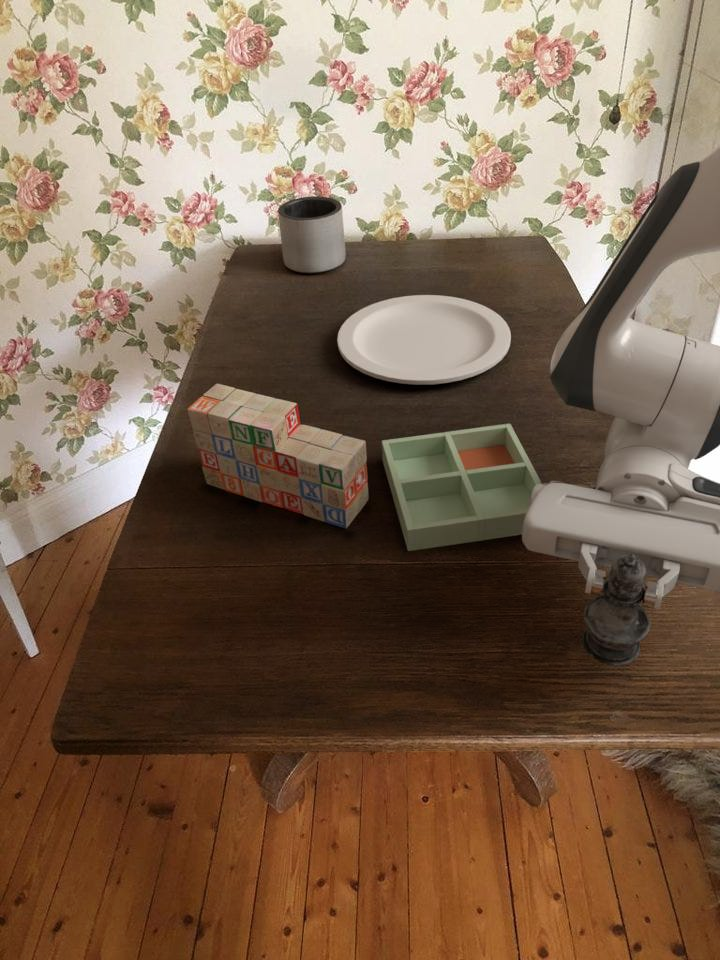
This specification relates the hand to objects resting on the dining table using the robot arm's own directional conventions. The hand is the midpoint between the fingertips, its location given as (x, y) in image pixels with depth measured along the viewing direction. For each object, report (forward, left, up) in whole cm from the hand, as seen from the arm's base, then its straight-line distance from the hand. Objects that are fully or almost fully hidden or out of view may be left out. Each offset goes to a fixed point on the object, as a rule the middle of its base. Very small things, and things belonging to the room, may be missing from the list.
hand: (622, 596), depth 66 cm
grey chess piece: (0, -1, -8) cm, 8 cm away
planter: (+18, -104, -11) cm, 106 cm away
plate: (+4, -66, -11) cm, 67 cm away
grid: (+7, -29, -11) cm, 32 cm away
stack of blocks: (+29, -34, -11) cm, 46 cm away
